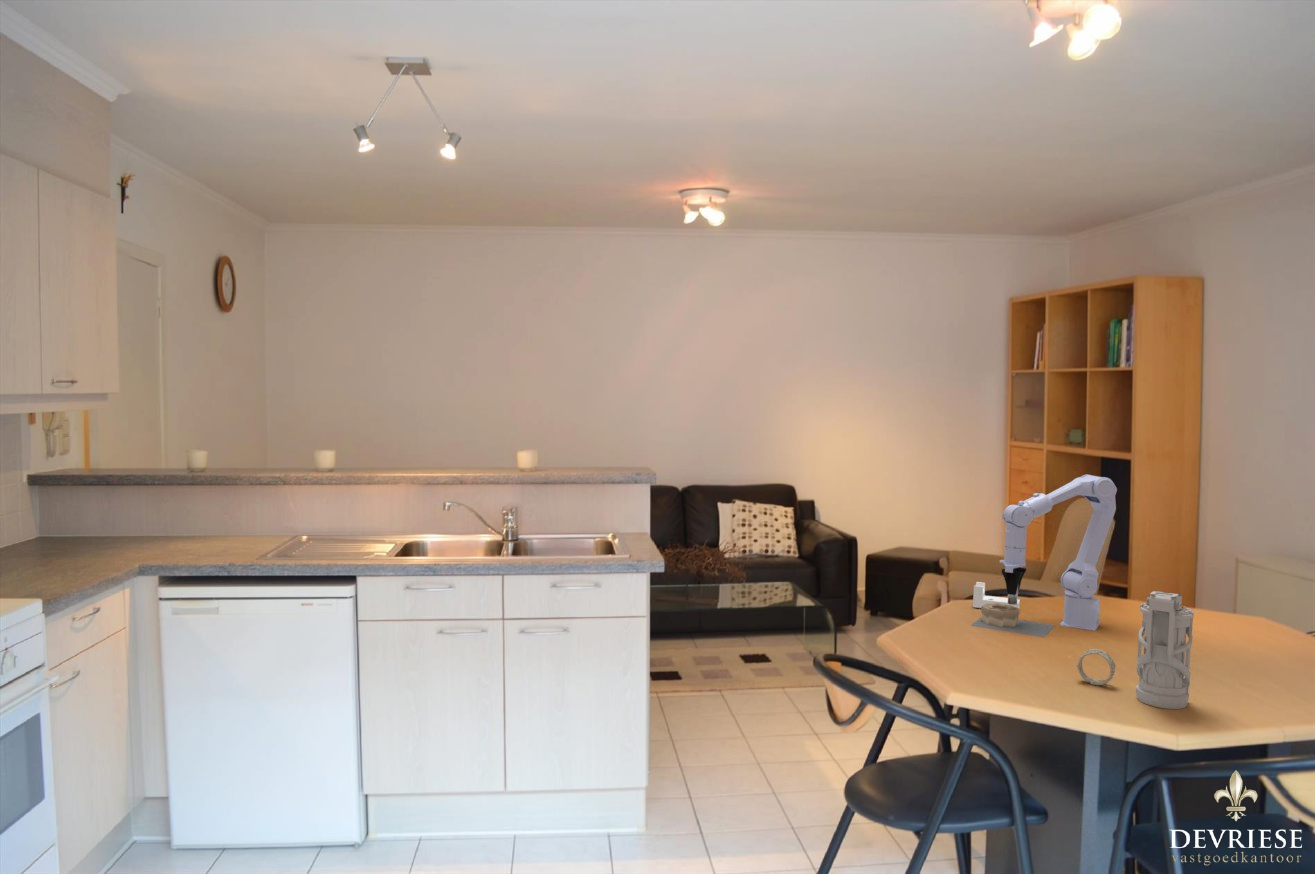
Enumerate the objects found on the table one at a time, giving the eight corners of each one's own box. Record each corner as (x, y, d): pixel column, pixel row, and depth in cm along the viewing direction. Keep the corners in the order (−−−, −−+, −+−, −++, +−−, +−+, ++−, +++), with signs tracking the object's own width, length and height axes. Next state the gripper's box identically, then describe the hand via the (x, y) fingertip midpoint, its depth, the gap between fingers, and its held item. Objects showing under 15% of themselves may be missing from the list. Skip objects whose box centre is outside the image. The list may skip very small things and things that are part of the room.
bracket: (972, 610, 292) (973, 585, 292) (975, 605, 299) (976, 581, 298) (1017, 615, 287) (1018, 590, 286) (1019, 610, 293) (1020, 586, 293)
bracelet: (1079, 678, 224) (1080, 645, 223) (1115, 685, 219) (1117, 651, 219) (1075, 682, 221) (1076, 648, 220) (1112, 689, 216) (1114, 655, 216)
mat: (1055, 626, 273) (1055, 625, 273) (1044, 638, 260) (1044, 636, 260) (984, 615, 284) (984, 614, 284) (970, 626, 271) (970, 625, 271)
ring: (1020, 621, 276) (1021, 606, 276) (1012, 628, 268) (1013, 612, 268) (986, 616, 282) (987, 601, 281) (978, 623, 274) (979, 607, 273)
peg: (1018, 603, 272) (1019, 576, 272) (1016, 605, 270) (1017, 577, 270) (1008, 602, 274) (1010, 574, 273) (1006, 603, 272) (1008, 576, 271)
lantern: (1139, 690, 216) (1145, 582, 214) (1191, 700, 209) (1198, 589, 208) (1128, 705, 205) (1134, 591, 204) (1182, 716, 199) (1189, 599, 198)
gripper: (1006, 542, 279) (1004, 587, 280) (994, 548, 267) (992, 595, 268) (1031, 544, 276) (1029, 590, 276) (1021, 551, 263) (1018, 599, 264)
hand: (1012, 593), depth 272 cm, fingers closed on peg, 3 cm apart
